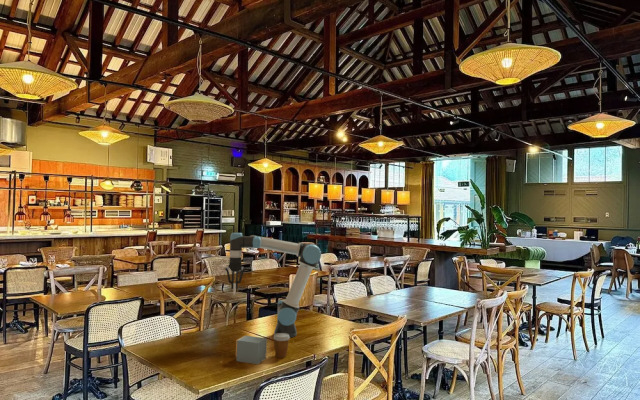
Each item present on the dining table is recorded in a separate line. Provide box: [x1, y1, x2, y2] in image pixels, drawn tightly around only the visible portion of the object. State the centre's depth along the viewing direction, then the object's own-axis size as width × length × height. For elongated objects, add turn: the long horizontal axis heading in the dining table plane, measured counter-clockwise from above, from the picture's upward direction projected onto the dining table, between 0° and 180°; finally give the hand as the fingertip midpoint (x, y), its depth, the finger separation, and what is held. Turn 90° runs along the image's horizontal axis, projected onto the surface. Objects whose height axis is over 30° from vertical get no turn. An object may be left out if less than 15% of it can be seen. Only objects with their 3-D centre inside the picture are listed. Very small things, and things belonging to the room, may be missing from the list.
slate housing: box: [235, 335, 268, 365], centre depth 246 cm, size 14×10×11 cm
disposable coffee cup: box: [272, 333, 291, 359], centre depth 253 cm, size 10×10×12 cm
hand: (234, 294), depth 282 cm, fingers closed
